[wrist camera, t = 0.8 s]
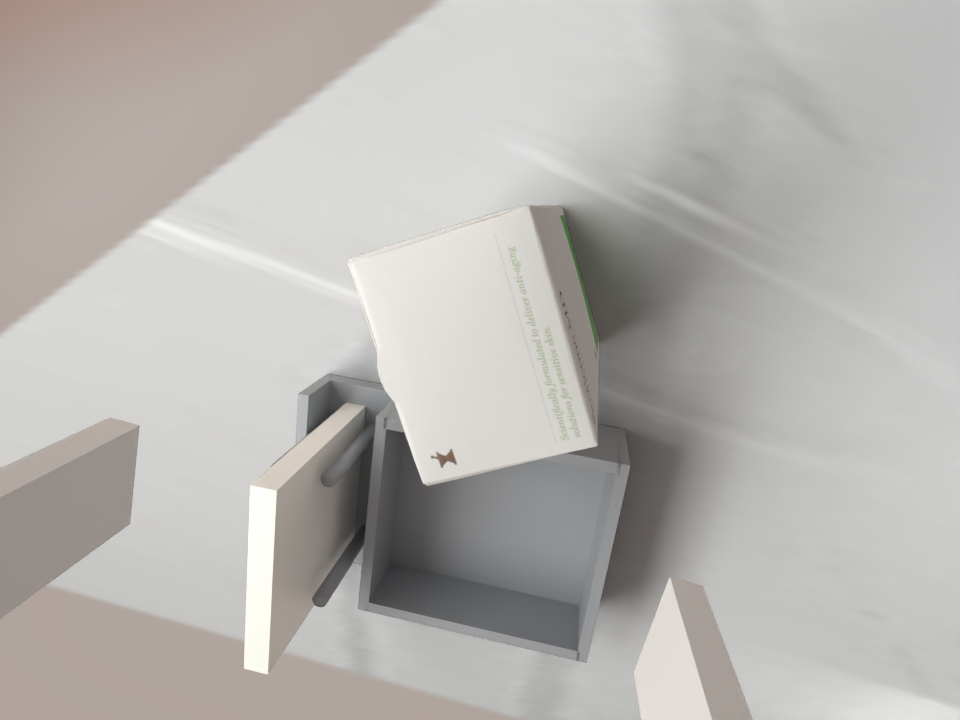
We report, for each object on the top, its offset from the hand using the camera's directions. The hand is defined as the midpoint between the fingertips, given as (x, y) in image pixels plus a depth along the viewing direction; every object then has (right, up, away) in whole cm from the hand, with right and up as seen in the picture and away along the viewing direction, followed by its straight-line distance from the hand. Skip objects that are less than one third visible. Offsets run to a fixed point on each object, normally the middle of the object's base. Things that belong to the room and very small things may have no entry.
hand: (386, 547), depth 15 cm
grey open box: (+1, -4, +23) cm, 24 cm away
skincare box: (+5, +8, +20) cm, 22 cm away
